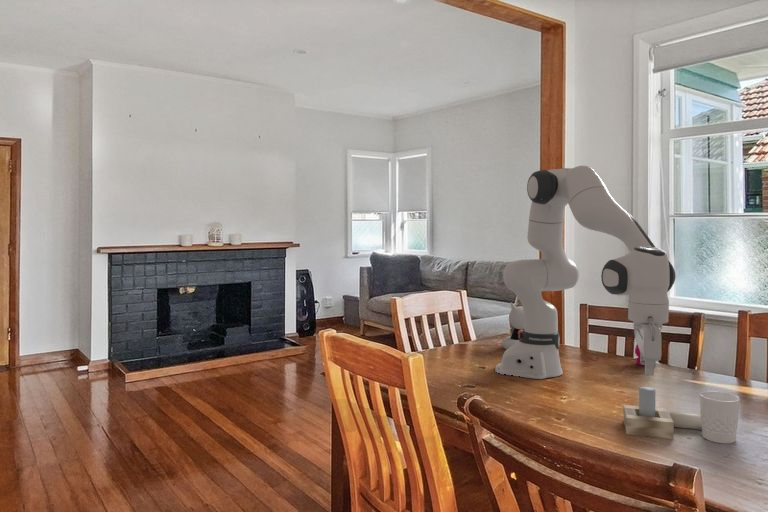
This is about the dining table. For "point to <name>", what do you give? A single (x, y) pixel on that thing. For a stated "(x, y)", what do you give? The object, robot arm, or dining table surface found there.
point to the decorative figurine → (514, 325)
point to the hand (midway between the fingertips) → (646, 369)
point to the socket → (648, 423)
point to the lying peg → (686, 420)
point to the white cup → (719, 416)
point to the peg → (647, 401)
